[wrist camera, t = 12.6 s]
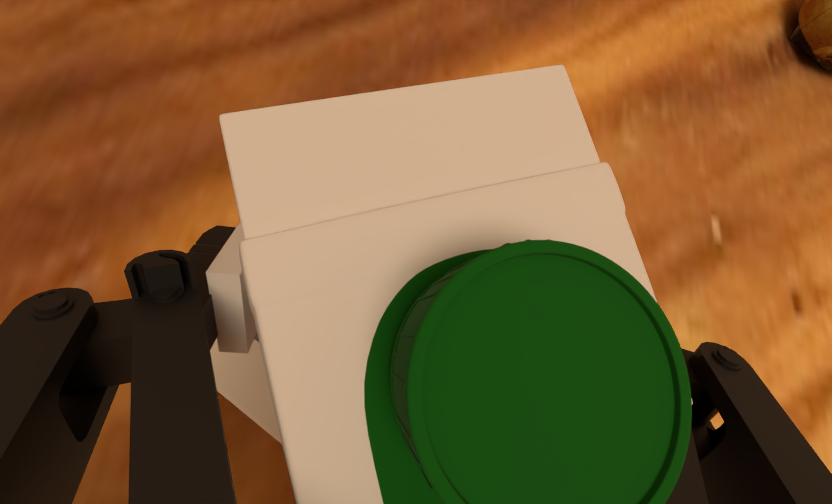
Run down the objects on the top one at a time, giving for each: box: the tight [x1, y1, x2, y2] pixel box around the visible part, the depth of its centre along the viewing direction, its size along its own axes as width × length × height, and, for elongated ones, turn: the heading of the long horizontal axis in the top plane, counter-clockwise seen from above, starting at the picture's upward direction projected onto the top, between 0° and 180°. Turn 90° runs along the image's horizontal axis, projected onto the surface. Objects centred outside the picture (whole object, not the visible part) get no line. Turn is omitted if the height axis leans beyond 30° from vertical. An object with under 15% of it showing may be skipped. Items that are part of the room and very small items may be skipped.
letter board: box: [210, 333, 282, 444], centre depth 25 cm, size 20×20×1 cm
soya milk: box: [220, 65, 693, 504], centre depth 15 cm, size 9×9×20 cm
